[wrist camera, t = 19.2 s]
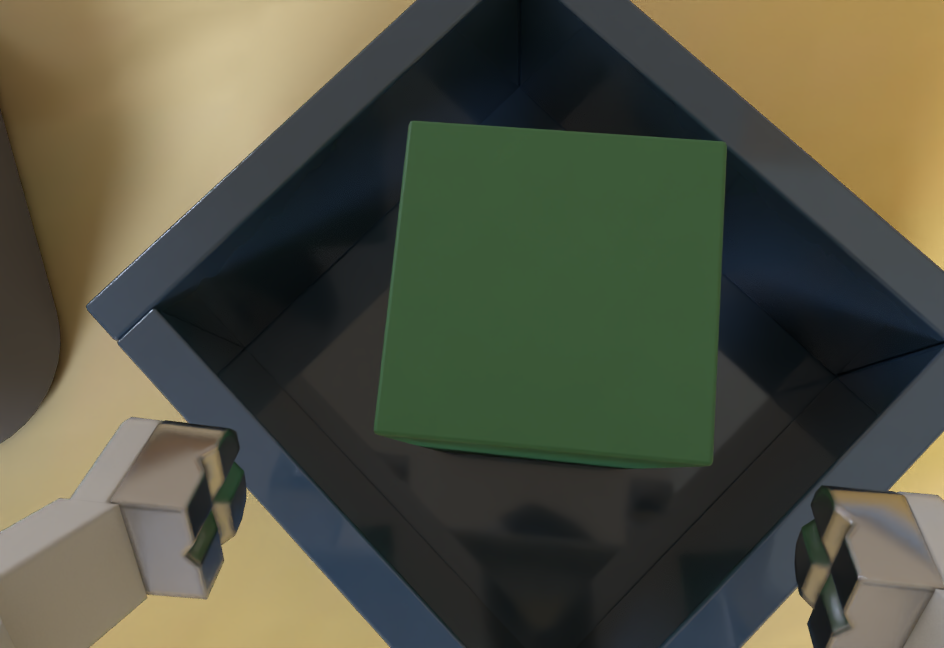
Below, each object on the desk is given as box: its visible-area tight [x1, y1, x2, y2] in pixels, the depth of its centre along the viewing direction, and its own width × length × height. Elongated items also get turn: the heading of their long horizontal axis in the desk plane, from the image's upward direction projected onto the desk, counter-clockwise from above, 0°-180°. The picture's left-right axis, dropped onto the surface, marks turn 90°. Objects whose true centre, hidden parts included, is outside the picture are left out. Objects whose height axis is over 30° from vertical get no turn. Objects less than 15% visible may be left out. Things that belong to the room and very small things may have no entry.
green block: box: [374, 121, 727, 469], centre depth 16 cm, size 5×5×9 cm
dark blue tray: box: [86, 0, 944, 648], centre depth 19 cm, size 13×12×6 cm
